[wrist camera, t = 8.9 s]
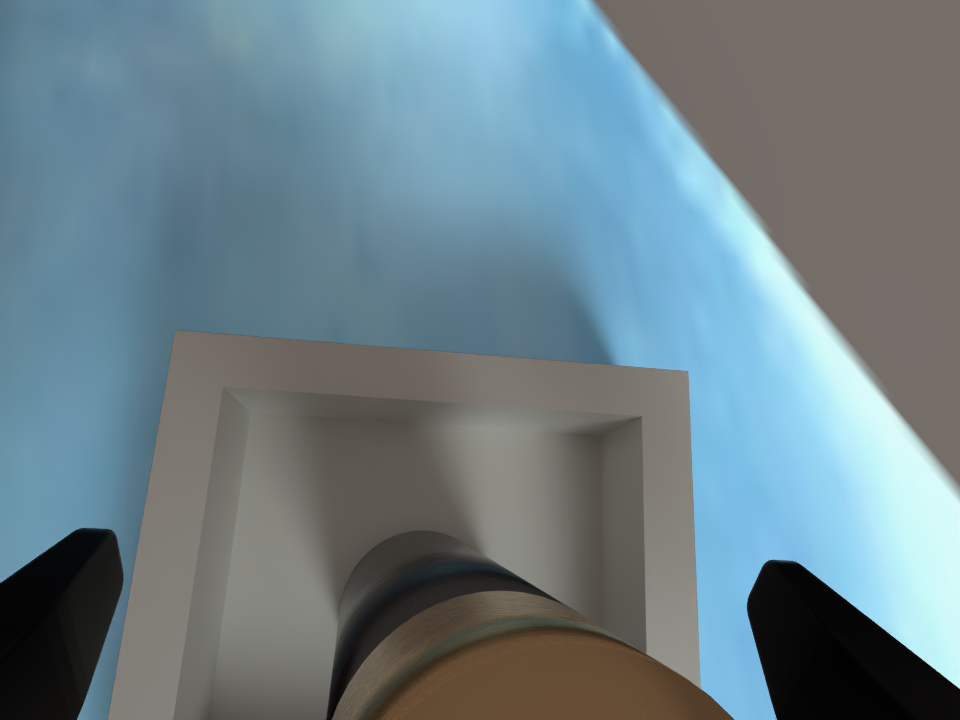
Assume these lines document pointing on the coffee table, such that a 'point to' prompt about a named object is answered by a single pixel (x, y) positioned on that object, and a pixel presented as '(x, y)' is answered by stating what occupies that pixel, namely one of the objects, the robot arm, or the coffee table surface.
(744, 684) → the coffee table surface
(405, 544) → the cell
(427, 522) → the bin
